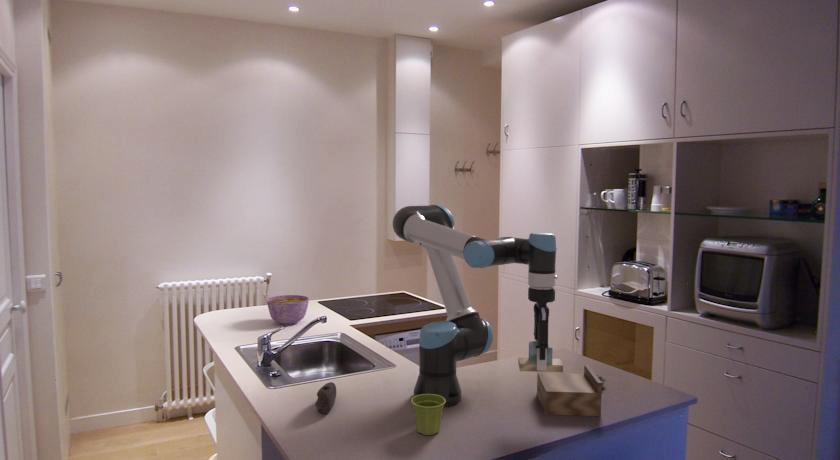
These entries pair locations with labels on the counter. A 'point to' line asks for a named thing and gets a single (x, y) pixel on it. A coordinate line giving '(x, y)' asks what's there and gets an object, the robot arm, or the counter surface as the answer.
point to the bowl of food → (287, 308)
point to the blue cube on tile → (531, 362)
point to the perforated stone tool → (326, 397)
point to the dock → (570, 393)
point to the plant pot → (428, 412)
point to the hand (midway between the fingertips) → (540, 366)
